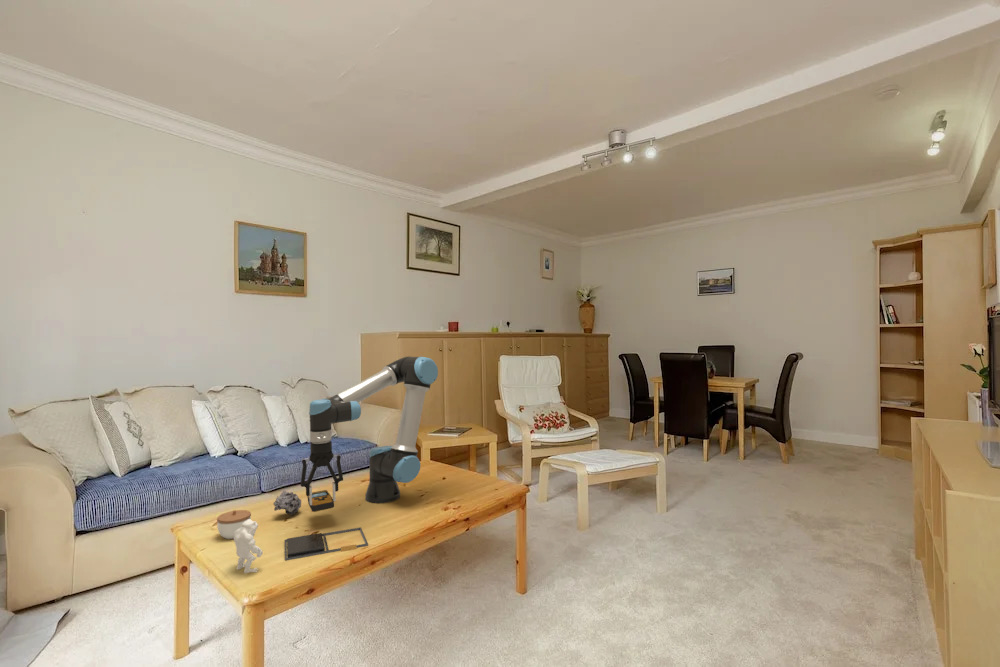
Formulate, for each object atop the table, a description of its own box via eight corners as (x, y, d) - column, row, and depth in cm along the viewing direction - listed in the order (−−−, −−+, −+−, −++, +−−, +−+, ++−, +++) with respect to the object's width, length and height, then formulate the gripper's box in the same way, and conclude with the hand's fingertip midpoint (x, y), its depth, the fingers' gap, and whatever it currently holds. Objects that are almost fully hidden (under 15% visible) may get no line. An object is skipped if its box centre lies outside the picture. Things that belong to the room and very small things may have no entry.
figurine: (227, 570, 147) (227, 521, 148) (248, 561, 153) (248, 514, 153) (245, 579, 141) (245, 529, 141) (266, 570, 147) (267, 521, 147)
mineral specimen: (296, 509, 199) (296, 486, 200) (308, 514, 194) (308, 490, 194) (267, 518, 190) (267, 493, 190) (278, 524, 184) (278, 498, 184)
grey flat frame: (284, 543, 167) (284, 537, 167) (360, 530, 178) (360, 525, 178) (284, 563, 151) (284, 557, 151) (368, 548, 162) (368, 542, 162)
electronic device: (311, 514, 175) (310, 505, 175) (306, 501, 189) (306, 493, 189) (335, 508, 179) (334, 500, 179) (328, 496, 193) (328, 488, 193)
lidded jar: (227, 545, 165) (227, 518, 165) (210, 538, 171) (211, 512, 171) (256, 534, 174) (257, 508, 174) (240, 528, 180) (240, 503, 180)
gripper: (291, 446, 171) (293, 510, 171) (350, 440, 180) (352, 500, 180) (291, 442, 178) (292, 503, 178) (348, 436, 186) (349, 494, 187)
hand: (322, 502), depth 179 cm, fingers closed on electronic device, 8 cm apart
